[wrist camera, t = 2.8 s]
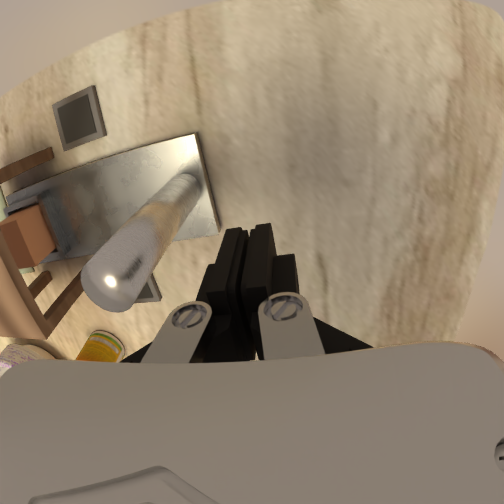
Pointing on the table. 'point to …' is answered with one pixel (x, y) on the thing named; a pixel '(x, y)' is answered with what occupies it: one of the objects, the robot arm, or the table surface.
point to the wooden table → (22, 297)
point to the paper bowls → (20, 355)
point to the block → (27, 236)
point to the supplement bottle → (102, 348)
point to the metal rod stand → (125, 214)
